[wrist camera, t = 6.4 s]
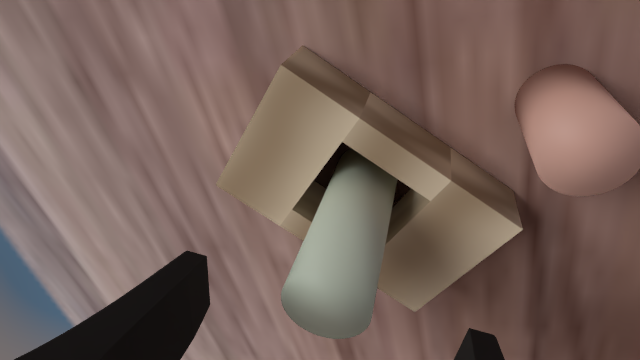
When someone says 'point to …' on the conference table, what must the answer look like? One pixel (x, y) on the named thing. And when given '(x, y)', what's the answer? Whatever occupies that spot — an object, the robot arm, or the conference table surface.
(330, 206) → the long pin
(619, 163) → the short pin
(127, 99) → the conference table surface
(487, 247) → the hole plate
